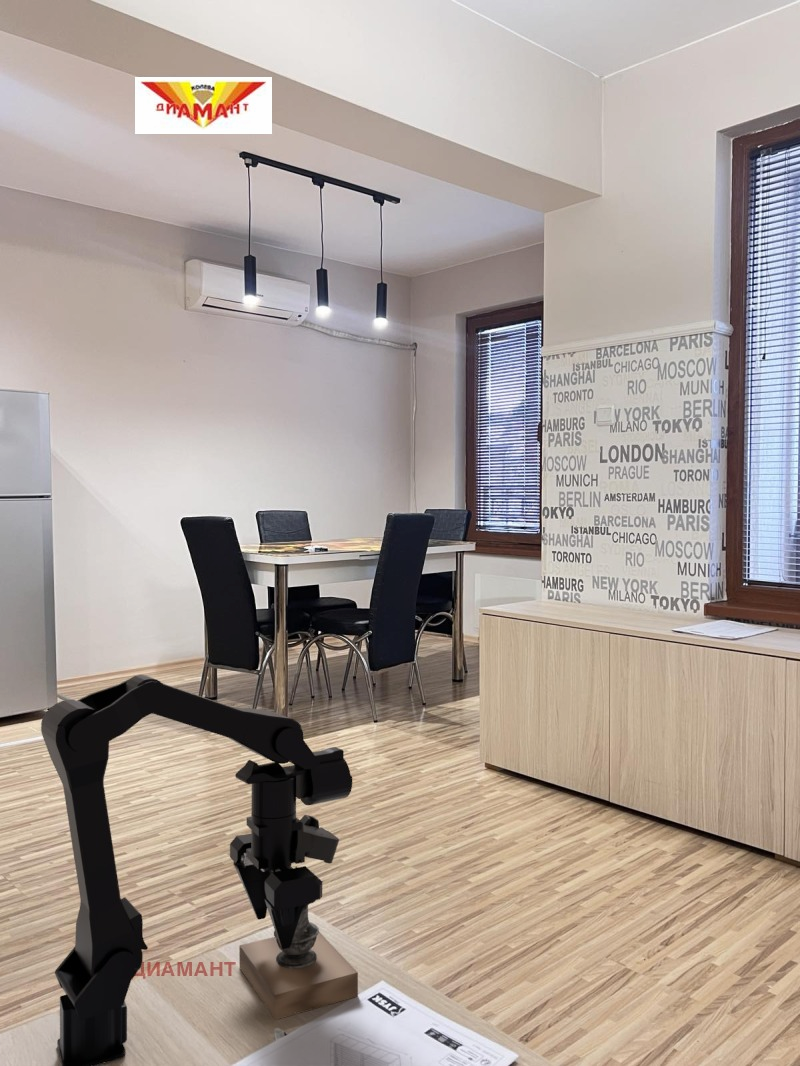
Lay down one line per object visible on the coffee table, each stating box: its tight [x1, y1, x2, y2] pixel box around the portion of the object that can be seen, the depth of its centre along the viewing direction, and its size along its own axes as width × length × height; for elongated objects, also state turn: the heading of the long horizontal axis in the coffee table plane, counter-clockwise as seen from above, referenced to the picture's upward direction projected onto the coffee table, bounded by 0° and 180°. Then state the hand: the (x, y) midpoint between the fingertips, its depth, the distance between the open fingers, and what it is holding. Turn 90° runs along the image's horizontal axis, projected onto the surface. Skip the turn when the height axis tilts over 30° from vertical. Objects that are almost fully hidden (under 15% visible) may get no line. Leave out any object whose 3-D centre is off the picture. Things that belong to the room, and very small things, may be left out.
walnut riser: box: [238, 931, 359, 1020], centre depth 112 cm, size 11×14×3 cm
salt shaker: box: [273, 866, 320, 969], centre depth 112 cm, size 6×6×12 cm
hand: (273, 932), depth 110 cm, fingers open, 9 cm apart
